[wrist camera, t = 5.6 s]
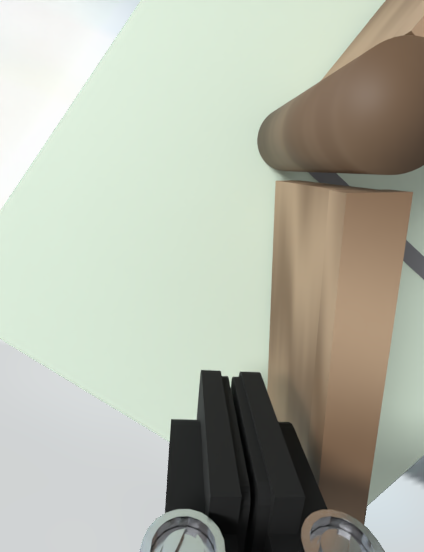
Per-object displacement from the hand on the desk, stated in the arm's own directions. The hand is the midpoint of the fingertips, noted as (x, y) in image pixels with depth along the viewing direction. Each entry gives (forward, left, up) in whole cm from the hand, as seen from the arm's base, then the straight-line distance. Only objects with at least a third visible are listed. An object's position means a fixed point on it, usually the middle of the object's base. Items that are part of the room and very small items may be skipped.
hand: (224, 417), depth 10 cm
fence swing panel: (-2, +2, -4) cm, 5 cm away
